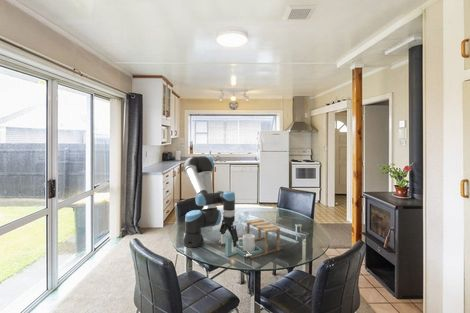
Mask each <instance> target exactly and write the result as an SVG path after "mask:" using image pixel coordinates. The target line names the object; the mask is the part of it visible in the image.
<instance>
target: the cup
mask: <svg viewBox="0 0 470 313" xmlns="http://www.w3.org/2000/svg"><path fill="white" fill-rule="evenodd" d="M255 239H256V235H255V234H253V233H249V234H247V233H245V234H243V235H242V237H238V240H239V241H237V242H236V243H237V244H238V247H237V248H239V249H242V251H243V252H244V253H246V252H245V251H248V252H253V251H256V250H255V245H256V241H255ZM241 240H242V241H243V245H242V246H240V245H239V242H240V241H241Z"/></svg>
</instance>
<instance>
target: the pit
mask: <svg viewBox="0 0 470 313" xmlns="http://www.w3.org/2000/svg"><path fill="white" fill-rule="evenodd" d="M268 242H269V243H270V244H272V245H274V246H276V238H270V239H269V238H268ZM284 246H287V244H286V243H284V242H281V241H280V242H279V248H281V247H284Z"/></svg>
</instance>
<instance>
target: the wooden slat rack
mask: <svg viewBox="0 0 470 313" xmlns="http://www.w3.org/2000/svg"><path fill="white" fill-rule="evenodd" d="M250 226H252V227H254V228H257V238H255V242H257V241H262V240H263V241H264V242H263V243H264V246H263V248H264V249H263V253H260V254H257V255H253V256H251V258H250V259H254V258H257V257H261V256H264V255H268V254H271V253H274V252H278V251H282V250H284V246H281V247H279V242H281V241H280V239H281V238H280V236H281V235H280V234H281V227H280V226H277V225H275V224H273V223H271V222H268V221H266V220H264V219H262V218H255V219H250V220H247V221H246V234H250V230H251V229H250ZM262 231H263V232H264V237H261V235H262V234H261V233H262ZM275 231H276V238H275V239H276V245H275V246H276V247H275V249H271V250H268V242H269V241H268V240H269V238H268V237H269V233H270V232H275Z"/></svg>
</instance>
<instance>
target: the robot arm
mask: <svg viewBox="0 0 470 313" xmlns="http://www.w3.org/2000/svg"><path fill="white" fill-rule="evenodd" d="M214 169H215V163H214V159H213V158H212V157H211V156H210V155H208V156H207V155H205V156H204V155H202V156H190V157H188V158H186V160H184V163H183V165H182V170H183V173H184V175H185V176H187V179H188V181H189V183H190V185H191V186H192V189H193V191H194V193H195V197H194V200H195V201H194V202H195V205H197V206H198V207H202V208H201V210H200V209H193V210H190V211H188V212H186V214H185V216H184V217H185V218H184V221H185V222H184V223H185V231H184V232H185V233H184V237H183V239H182V245H183V246H184V247H186V248H198V247H201V246H203V245H204V243H205V239H204V235H203V233H202V229H207V228H211V227H216V226H219V225H220V228H219V233H220V234H221V235H220V236H221V239H220V240H221V245H223V244H226V231H227V230H228V233H229V234H230V236H231V237H232V252H234V251H236V243H237V241H239V242H240V240H238V239H239V236H238V232H237V225H234V223H235V218H236V217H235V214H236V210H235V209H236V193H235V192H234V191H230V190H228V191H223V190H217V191H215V192H214V189H213V183H212V182H213V180H212V174H213V171H214ZM219 204H221V205H222V207H223V208H222V210H223V211H222V213H221V210H220V209H218V207H217V206H216V205H219ZM222 215H223V216H222Z"/></svg>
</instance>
